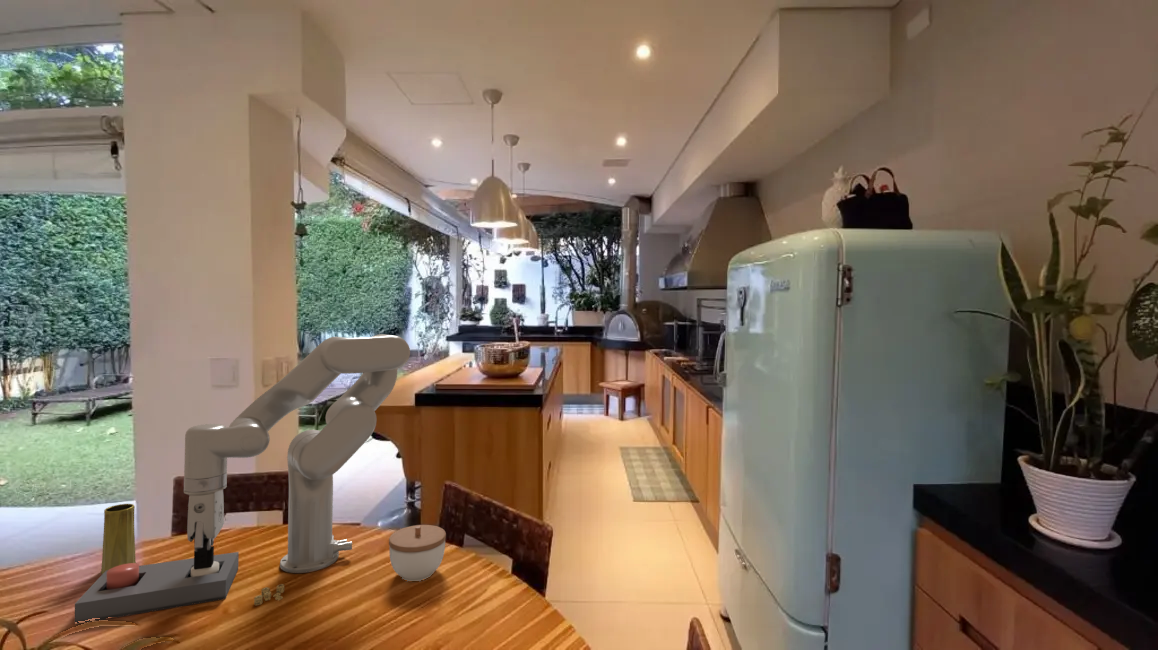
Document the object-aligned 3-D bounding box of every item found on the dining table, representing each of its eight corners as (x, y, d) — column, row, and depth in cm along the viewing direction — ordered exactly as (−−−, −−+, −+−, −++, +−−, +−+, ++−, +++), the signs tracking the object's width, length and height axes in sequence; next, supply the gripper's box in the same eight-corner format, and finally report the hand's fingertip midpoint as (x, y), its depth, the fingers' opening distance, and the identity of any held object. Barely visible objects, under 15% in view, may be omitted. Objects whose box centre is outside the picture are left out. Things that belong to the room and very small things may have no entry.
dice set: (253, 609, 105) (253, 599, 105) (258, 596, 110) (258, 587, 110) (281, 604, 107) (281, 595, 107) (285, 592, 112) (285, 583, 112)
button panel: (238, 568, 120) (238, 551, 120) (225, 598, 108) (225, 579, 108) (105, 589, 110) (106, 570, 110) (74, 624, 98) (74, 603, 98)
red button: (142, 576, 109) (142, 561, 109) (133, 587, 105) (133, 572, 105) (112, 580, 107) (112, 565, 107) (101, 592, 103) (102, 576, 103)
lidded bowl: (375, 581, 116) (376, 532, 116) (413, 557, 128) (414, 513, 128) (421, 593, 111) (422, 542, 111) (456, 567, 123) (456, 521, 123)
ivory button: (221, 573, 115) (221, 559, 115) (216, 584, 111) (216, 569, 111) (194, 577, 113) (194, 563, 113) (187, 589, 109) (187, 573, 108)
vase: (114, 577, 115) (115, 513, 115) (93, 573, 117) (94, 511, 117) (142, 564, 121) (143, 504, 121) (122, 561, 123) (122, 501, 123)
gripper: (218, 491, 106) (216, 579, 106) (233, 471, 120) (231, 550, 120) (173, 495, 103) (171, 586, 103) (193, 474, 117) (192, 555, 117)
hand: (203, 566), depth 112 cm, fingers closed
